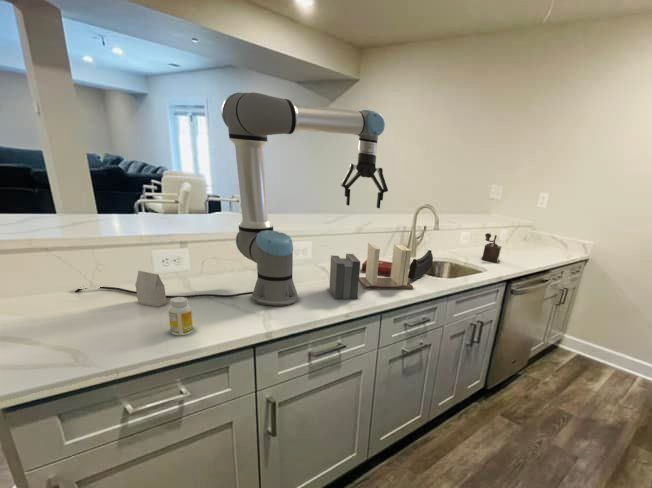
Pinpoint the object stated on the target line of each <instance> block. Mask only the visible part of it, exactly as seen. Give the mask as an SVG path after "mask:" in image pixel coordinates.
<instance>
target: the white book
mask: <svg viewBox="0 0 652 488" xmlns="http://www.w3.org/2000/svg"><path fill="white" fill-rule="evenodd" d="M380 253H381V248H380V247H378V246H377V245H376V244H374V243H373V242H368V243H367V253H366V254H367V255H366V260H367V265H366V272H365V276H364V277H365V278H366V279H367V280H368V281H369V283H370V284H371V285H374V286H376V284H377V278H378V275H379V274H378V264H379V260H380Z"/></svg>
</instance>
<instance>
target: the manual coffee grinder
mask: <svg viewBox="0 0 652 488" xmlns="http://www.w3.org/2000/svg"><path fill="white" fill-rule="evenodd" d="M484 236H485V241H486V242H488V243H486V244H485V245H484V249H483V252H482V253H483V254H482V256H481V260H483V261H486V262H491V263H496V264H497V263H498V262H499V260H500V256H501V251H502V246H501V245H498V244H497V243H496V240H497V237H498V236H497V235H496V234H495V235H494V237H493V240H491V238H492V234H491V233H489V232H488V233H485V234H484Z"/></svg>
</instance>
